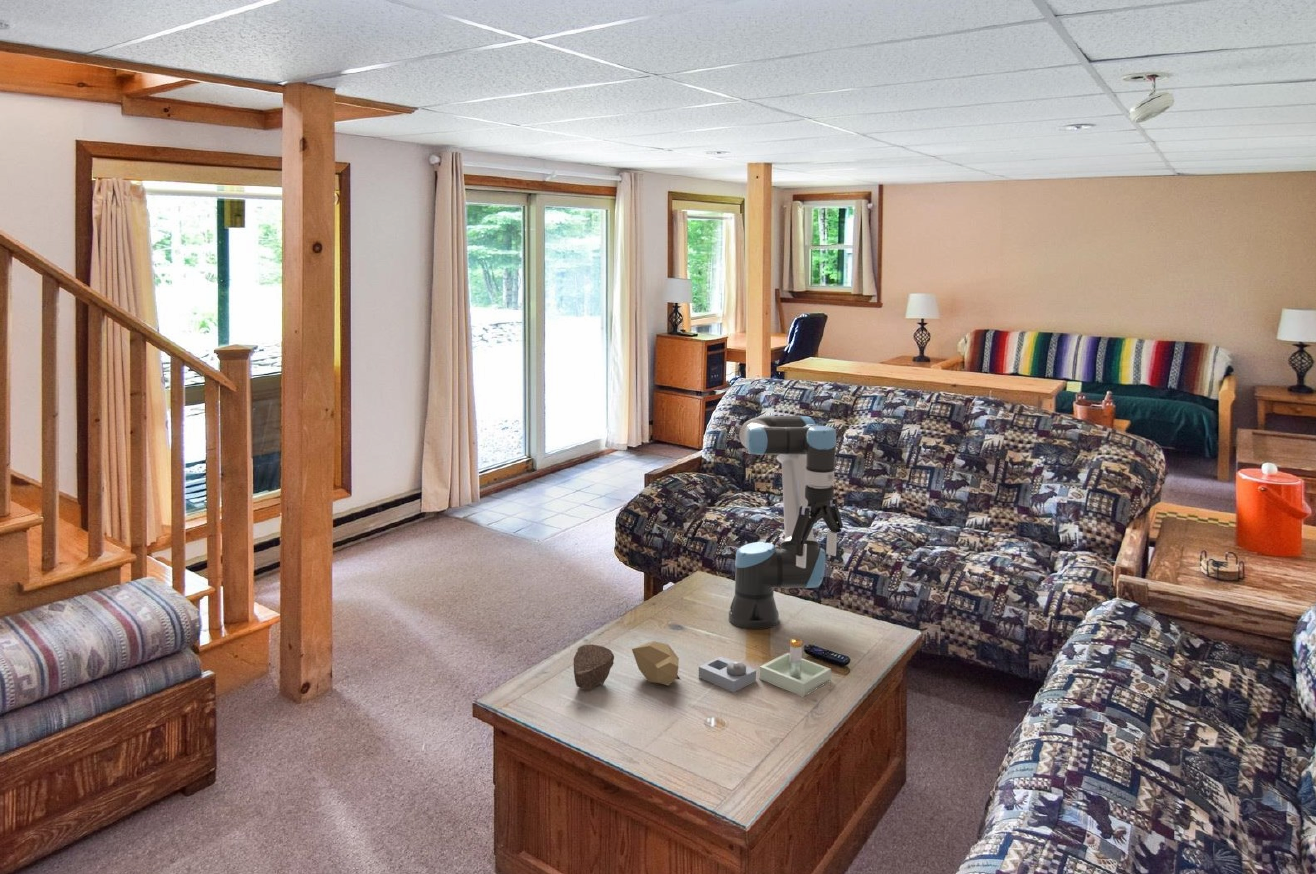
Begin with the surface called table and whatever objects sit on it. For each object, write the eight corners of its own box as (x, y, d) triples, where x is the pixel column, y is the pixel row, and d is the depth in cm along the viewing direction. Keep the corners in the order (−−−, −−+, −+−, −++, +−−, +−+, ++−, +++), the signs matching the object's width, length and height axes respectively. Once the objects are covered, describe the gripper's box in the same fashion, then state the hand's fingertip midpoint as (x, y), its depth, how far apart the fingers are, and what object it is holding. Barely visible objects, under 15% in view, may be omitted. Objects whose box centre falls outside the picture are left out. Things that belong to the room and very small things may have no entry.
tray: (759, 679, 246) (759, 666, 245) (787, 664, 254) (787, 652, 254) (803, 696, 236) (803, 684, 236) (830, 681, 245) (830, 668, 244)
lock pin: (786, 677, 245) (787, 640, 243) (793, 673, 247) (794, 637, 245) (796, 681, 243) (797, 644, 241) (803, 677, 245) (804, 640, 243)
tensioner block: (698, 677, 247) (698, 657, 246) (720, 666, 253) (721, 647, 252) (733, 692, 239) (734, 672, 237) (755, 680, 245) (756, 661, 244)
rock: (587, 685, 231) (561, 656, 235) (577, 705, 238) (552, 676, 242) (622, 659, 239) (596, 631, 243) (612, 679, 246) (587, 651, 250)
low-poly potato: (636, 670, 251) (617, 666, 241) (656, 634, 252) (638, 629, 242) (680, 699, 244) (663, 697, 234) (701, 662, 245) (684, 658, 235)
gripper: (802, 496, 237) (799, 576, 242) (858, 479, 254) (854, 553, 259) (779, 491, 243) (776, 568, 247) (835, 473, 260) (831, 546, 264)
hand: (816, 560), depth 253 cm, fingers open, 13 cm apart
